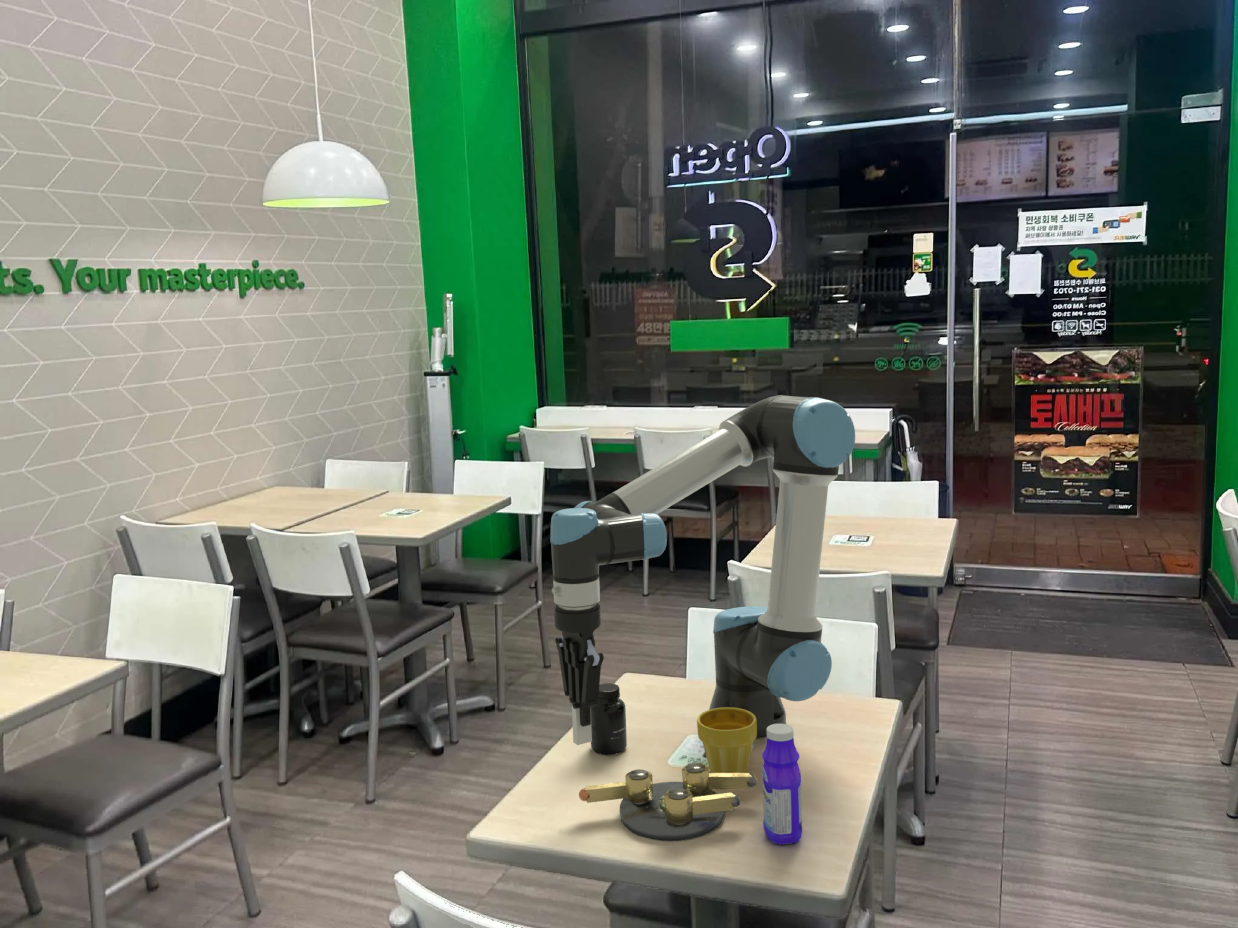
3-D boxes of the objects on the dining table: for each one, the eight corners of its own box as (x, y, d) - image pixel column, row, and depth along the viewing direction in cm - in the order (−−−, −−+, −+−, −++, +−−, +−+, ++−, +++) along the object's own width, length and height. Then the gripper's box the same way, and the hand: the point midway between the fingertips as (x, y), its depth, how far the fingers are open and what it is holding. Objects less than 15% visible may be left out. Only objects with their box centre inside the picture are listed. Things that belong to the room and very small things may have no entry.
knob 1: (650, 788, 171) (649, 766, 171) (655, 801, 167) (654, 777, 167) (577, 797, 170) (576, 774, 169) (581, 810, 165) (579, 786, 165)
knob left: (682, 795, 168) (681, 772, 168) (683, 783, 173) (682, 760, 172) (757, 795, 167) (757, 772, 167) (756, 783, 172) (756, 760, 171)
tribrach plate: (710, 784, 177) (709, 769, 177) (737, 832, 160) (736, 816, 160) (612, 796, 174) (611, 781, 174) (629, 846, 158) (629, 830, 157)
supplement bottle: (623, 756, 190) (620, 694, 188) (587, 755, 191) (584, 693, 189) (630, 741, 196) (627, 681, 195) (595, 740, 198) (592, 680, 196)
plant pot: (723, 789, 175) (721, 734, 174) (687, 768, 184) (685, 716, 182) (770, 772, 180) (768, 719, 179) (733, 753, 189) (731, 702, 188)
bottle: (759, 825, 162) (756, 720, 160) (794, 822, 163) (792, 717, 160) (769, 849, 155) (766, 739, 153) (806, 845, 156) (804, 736, 153)
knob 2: (668, 825, 159) (667, 800, 159) (662, 811, 163) (661, 788, 163) (744, 815, 161) (744, 791, 160) (737, 802, 165) (736, 778, 165)
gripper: (539, 598, 172) (545, 733, 175) (574, 617, 160) (580, 760, 164) (579, 591, 175) (584, 724, 179) (616, 609, 164) (621, 750, 167)
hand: (582, 741), depth 171 cm, fingers closed
